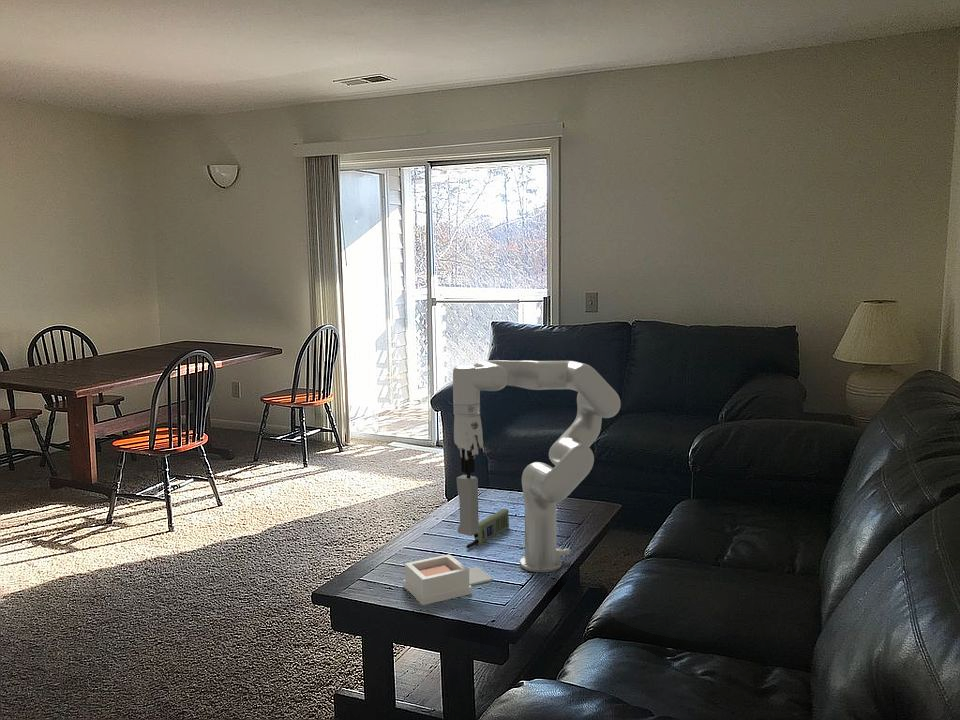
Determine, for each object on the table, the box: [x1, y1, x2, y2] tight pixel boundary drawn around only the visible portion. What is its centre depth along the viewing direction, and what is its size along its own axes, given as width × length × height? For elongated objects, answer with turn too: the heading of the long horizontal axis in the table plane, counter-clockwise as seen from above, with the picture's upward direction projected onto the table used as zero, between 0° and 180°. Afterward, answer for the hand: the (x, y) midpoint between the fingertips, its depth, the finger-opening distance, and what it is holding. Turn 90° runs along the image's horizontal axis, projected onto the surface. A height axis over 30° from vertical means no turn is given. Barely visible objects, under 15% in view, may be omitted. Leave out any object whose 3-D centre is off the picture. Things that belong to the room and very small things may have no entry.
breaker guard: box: [402, 553, 473, 606], centre depth 226 cm, size 15×14×7 cm
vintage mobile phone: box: [456, 452, 480, 537], centre depth 232 cm, size 4×5×25 cm
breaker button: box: [419, 565, 451, 576], centre depth 226 cm, size 8×7×3 cm
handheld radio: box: [466, 508, 510, 549], centre depth 267 cm, size 7×3×25 cm
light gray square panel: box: [468, 566, 494, 587], centre depth 235 cm, size 10×10×1 cm
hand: (467, 471), depth 231 cm, fingers closed on vintage mobile phone, 1 cm apart
